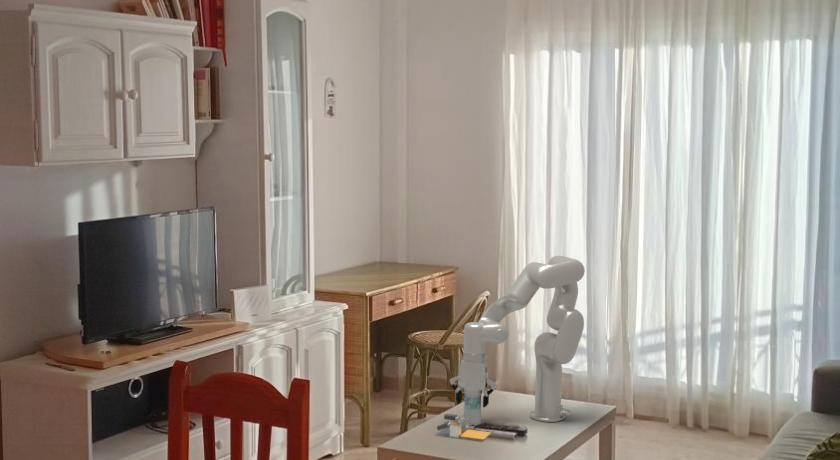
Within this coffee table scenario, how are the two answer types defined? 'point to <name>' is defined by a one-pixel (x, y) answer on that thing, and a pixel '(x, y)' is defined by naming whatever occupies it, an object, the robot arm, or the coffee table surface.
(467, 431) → the pad
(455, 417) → the lever
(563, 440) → the coffee table surface
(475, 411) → the bottle
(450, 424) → the lever
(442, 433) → the panel
